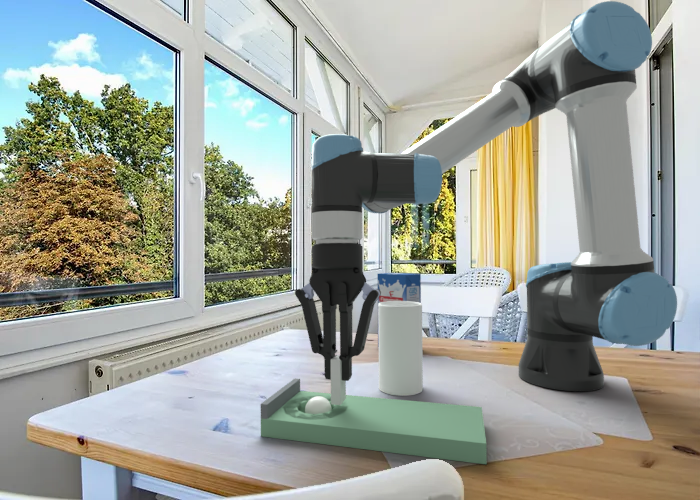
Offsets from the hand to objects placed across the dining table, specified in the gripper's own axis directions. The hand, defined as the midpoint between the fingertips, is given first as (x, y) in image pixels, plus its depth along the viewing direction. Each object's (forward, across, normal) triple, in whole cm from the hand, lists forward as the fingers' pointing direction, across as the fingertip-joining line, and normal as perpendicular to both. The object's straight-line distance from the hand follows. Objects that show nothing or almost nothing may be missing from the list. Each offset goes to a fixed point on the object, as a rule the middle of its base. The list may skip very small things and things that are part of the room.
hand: (338, 401), depth 60 cm
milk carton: (+4, -1, -51) cm, 51 cm away
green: (+4, -6, 0) cm, 7 cm away
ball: (+2, +3, 0) cm, 4 cm away
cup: (+4, -6, -19) cm, 20 cm away
